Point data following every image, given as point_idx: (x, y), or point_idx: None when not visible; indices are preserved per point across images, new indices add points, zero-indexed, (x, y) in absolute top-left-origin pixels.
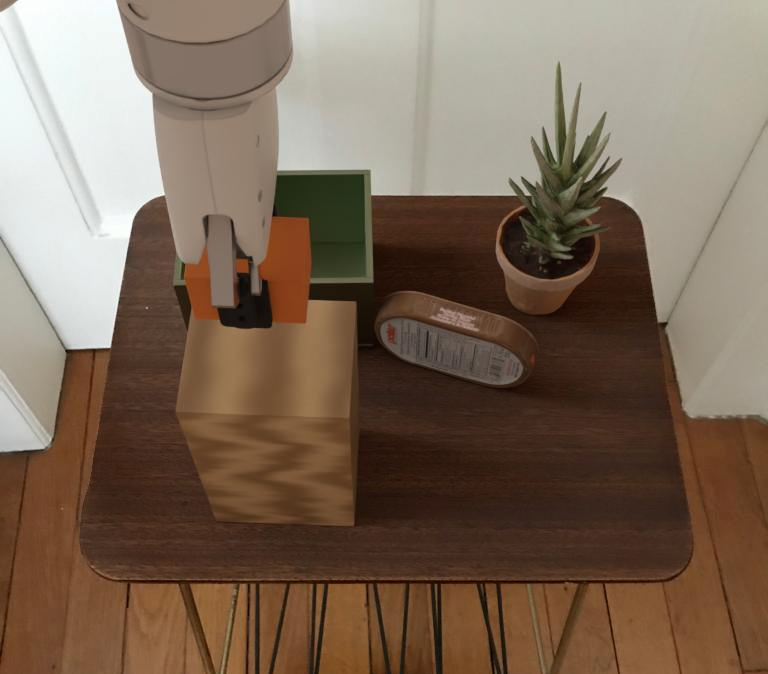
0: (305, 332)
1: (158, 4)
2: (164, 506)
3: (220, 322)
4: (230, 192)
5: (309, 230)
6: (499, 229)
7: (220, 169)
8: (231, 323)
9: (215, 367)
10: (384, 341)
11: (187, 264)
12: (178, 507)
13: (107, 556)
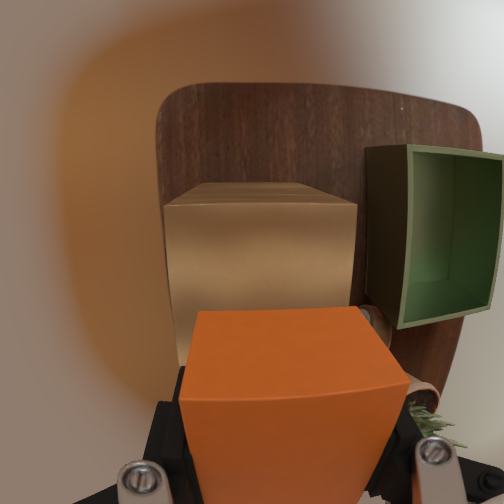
0: None
1: None
2: (214, 138)
3: (180, 368)
4: None
5: (459, 242)
6: (427, 388)
7: None
8: (158, 405)
9: (238, 248)
10: (361, 310)
11: (223, 404)
12: (213, 150)
13: (168, 103)
